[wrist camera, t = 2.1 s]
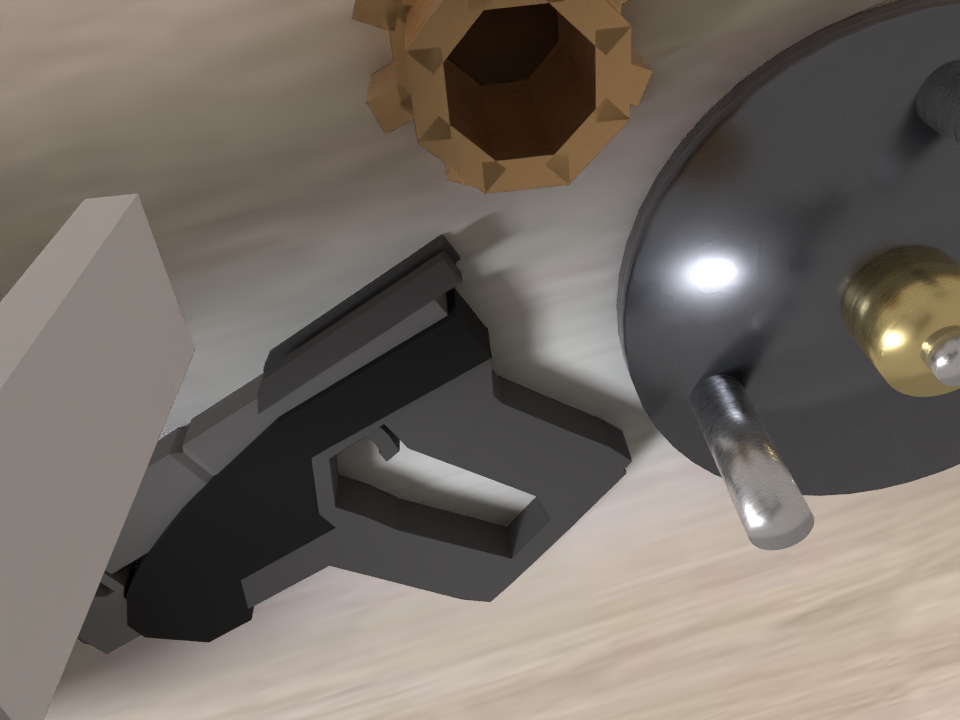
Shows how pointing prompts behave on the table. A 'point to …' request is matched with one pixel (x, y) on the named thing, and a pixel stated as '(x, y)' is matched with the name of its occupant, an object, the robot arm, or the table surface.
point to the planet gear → (507, 91)
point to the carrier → (809, 272)
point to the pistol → (337, 499)
